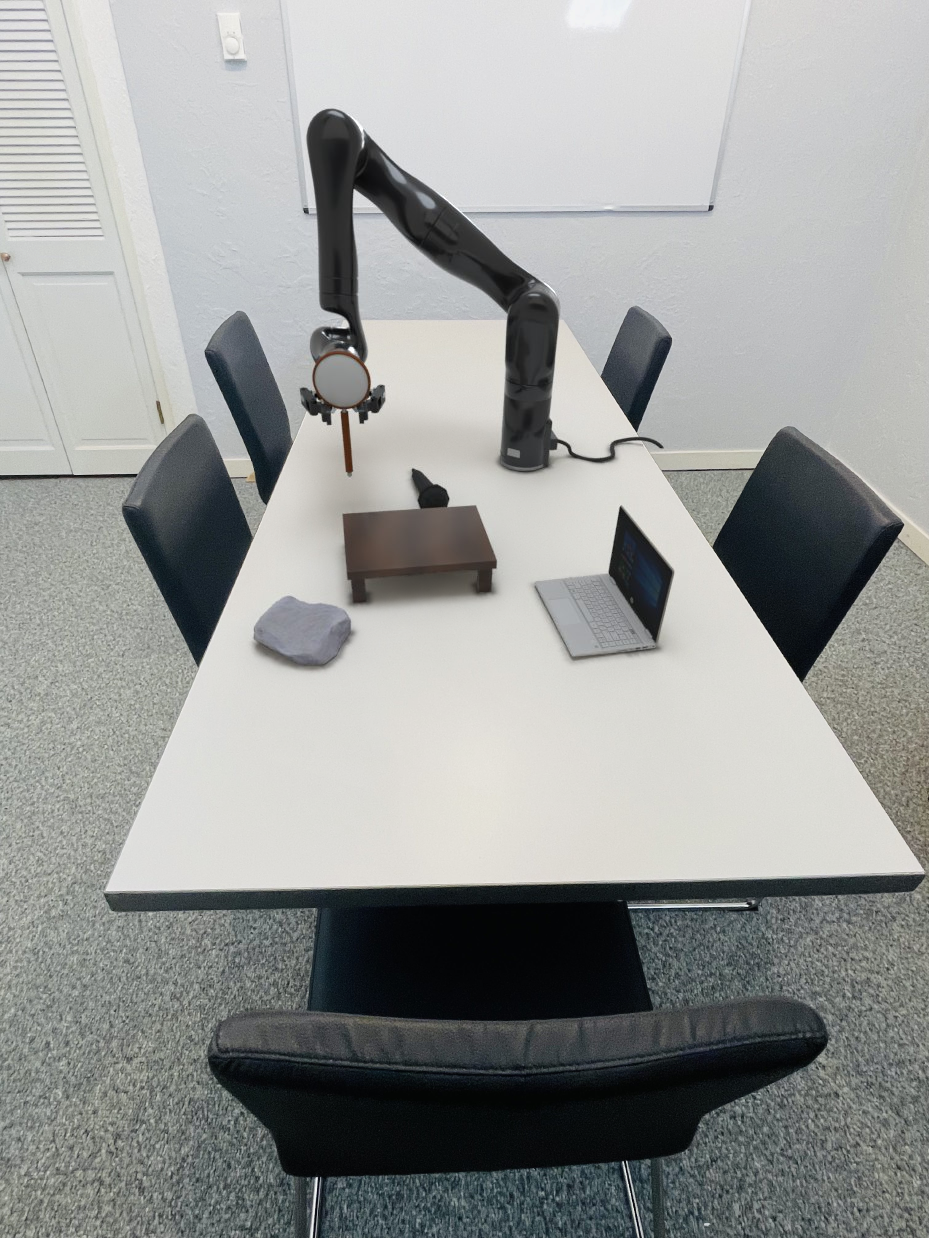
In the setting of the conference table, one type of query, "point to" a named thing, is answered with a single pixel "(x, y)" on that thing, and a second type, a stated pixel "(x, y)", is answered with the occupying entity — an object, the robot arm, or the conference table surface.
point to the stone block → (303, 630)
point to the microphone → (429, 492)
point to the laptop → (613, 597)
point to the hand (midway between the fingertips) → (345, 418)
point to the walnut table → (416, 545)
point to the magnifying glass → (342, 389)
